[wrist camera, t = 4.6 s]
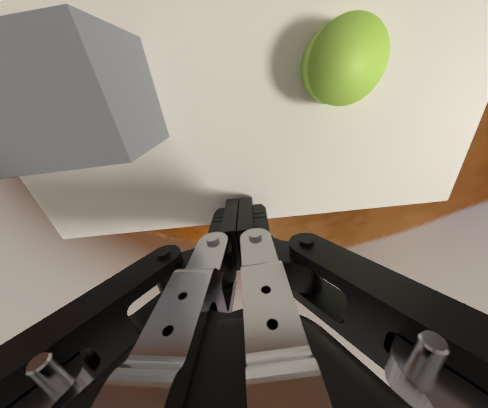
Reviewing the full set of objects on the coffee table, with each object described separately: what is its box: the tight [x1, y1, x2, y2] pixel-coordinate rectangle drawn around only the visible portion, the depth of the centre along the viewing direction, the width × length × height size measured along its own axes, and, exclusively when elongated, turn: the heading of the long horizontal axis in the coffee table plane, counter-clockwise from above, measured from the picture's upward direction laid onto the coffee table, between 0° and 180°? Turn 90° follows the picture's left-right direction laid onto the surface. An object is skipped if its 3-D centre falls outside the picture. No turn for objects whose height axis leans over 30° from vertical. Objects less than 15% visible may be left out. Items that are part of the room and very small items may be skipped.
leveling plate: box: [0, 0, 488, 239], centre depth 9 cm, size 15×24×7 cm, turn 97°
